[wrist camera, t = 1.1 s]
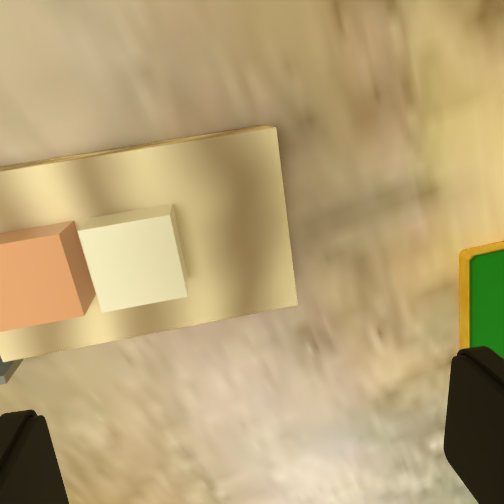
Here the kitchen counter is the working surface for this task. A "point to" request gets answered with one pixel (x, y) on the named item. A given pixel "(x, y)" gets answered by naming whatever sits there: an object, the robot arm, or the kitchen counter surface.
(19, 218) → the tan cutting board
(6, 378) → the tray
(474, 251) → the dish sponge
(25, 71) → the kitchen counter surface
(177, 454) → the kitchen counter surface
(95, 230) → the cream square block
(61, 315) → the orange square block
